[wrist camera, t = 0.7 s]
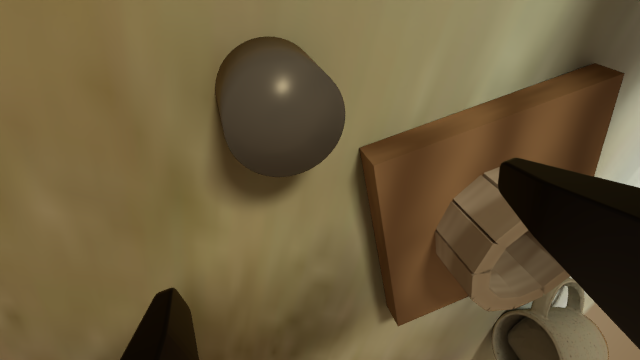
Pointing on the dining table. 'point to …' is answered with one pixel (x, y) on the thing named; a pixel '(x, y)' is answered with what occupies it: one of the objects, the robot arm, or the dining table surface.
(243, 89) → the smooth gray stone
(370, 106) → the dining table surface
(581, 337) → the ceramic mug
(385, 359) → the dining table surface
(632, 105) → the dining table surface
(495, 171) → the brown board with ring
